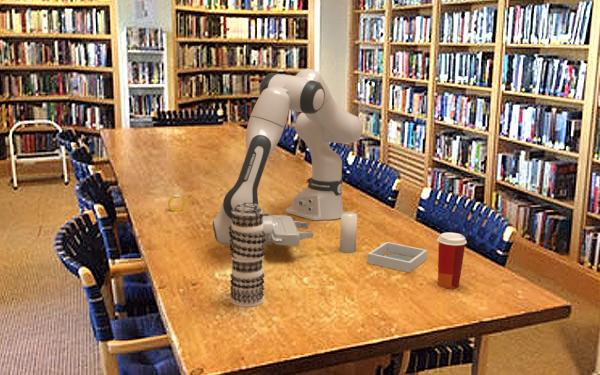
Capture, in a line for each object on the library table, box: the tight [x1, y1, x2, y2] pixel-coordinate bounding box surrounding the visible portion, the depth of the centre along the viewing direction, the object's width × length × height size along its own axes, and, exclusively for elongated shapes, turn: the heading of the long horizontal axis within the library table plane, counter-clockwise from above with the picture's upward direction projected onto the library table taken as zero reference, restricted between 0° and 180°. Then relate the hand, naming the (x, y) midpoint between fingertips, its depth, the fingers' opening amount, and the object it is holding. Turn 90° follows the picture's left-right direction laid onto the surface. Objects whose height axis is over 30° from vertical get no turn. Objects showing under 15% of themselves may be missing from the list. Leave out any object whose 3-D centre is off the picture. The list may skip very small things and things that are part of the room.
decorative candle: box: [228, 203, 266, 308], centre depth 155 cm, size 9×9×25 cm
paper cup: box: [436, 232, 468, 290], centre depth 170 cm, size 8×8×14 cm
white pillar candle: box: [339, 211, 358, 254], centre depth 196 cm, size 5×5×12 cm
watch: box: [167, 194, 185, 212], centre depth 237 cm, size 6×3×6 cm, turn 112°
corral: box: [366, 241, 429, 274], centre depth 188 cm, size 14×14×3 cm
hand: (310, 229), depth 194 cm, fingers open, 8 cm apart
